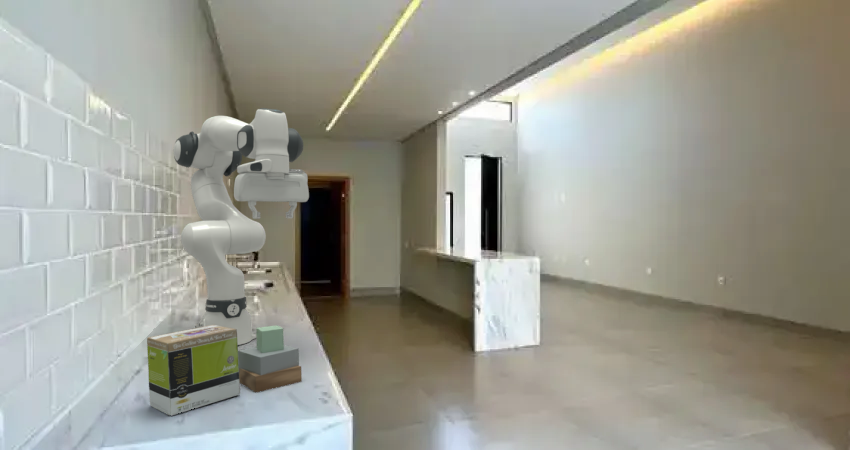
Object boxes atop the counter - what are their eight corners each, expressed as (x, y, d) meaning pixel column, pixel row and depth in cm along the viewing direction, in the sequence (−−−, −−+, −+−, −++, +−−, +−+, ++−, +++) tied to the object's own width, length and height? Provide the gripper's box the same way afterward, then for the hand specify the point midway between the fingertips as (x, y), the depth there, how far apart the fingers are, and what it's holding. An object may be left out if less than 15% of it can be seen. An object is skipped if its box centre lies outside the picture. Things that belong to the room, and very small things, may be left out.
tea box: (217, 387, 115) (215, 323, 115) (240, 396, 109) (239, 328, 109) (147, 406, 104) (146, 335, 104) (169, 417, 97) (167, 341, 97)
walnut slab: (237, 383, 119) (237, 366, 119) (281, 373, 126) (280, 357, 126) (256, 394, 111) (255, 376, 111) (301, 383, 118) (301, 366, 118)
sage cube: (256, 348, 120) (256, 327, 120) (277, 345, 122) (277, 325, 122) (262, 353, 116) (261, 331, 116) (283, 349, 118) (283, 328, 118)
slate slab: (238, 367, 118) (237, 350, 118) (275, 358, 126) (275, 342, 126) (260, 375, 112) (260, 357, 112) (299, 365, 119) (298, 348, 119)
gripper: (301, 170, 146) (302, 218, 146) (231, 166, 132) (232, 218, 132) (312, 168, 141) (313, 217, 141) (240, 164, 128) (241, 218, 128)
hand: (273, 218), depth 137 cm, fingers open, 8 cm apart
